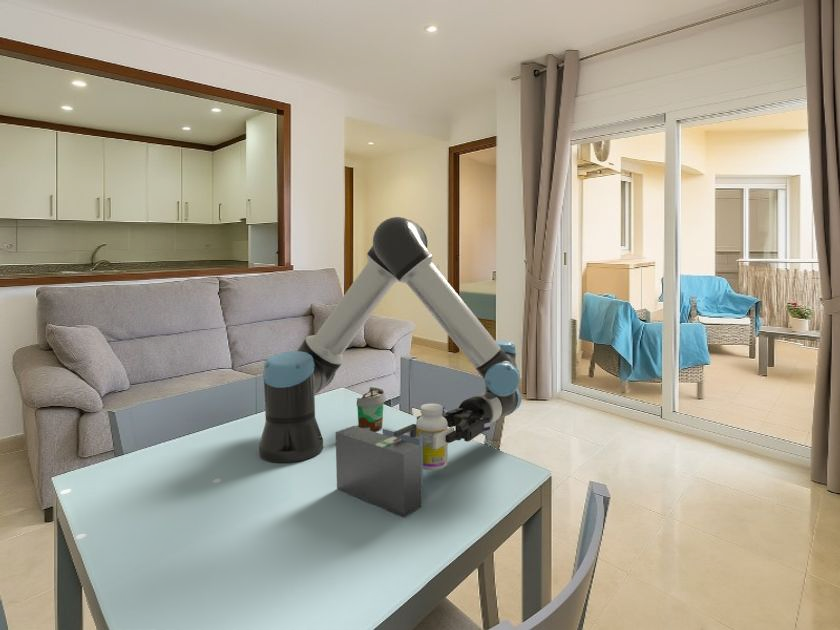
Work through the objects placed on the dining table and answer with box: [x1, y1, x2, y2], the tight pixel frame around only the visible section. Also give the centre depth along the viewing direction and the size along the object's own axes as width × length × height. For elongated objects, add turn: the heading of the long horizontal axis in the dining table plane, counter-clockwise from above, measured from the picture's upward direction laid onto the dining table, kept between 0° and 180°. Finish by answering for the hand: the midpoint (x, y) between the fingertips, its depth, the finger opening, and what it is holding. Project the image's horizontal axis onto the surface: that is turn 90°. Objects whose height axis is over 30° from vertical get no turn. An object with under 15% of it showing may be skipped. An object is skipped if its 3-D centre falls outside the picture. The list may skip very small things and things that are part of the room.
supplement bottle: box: [415, 403, 449, 471], centre depth 106 cm, size 7×7×13 cm
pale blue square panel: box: [382, 423, 424, 487], centre depth 102 cm, size 10×6×12 cm, turn 52°
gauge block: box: [335, 425, 422, 518], centre depth 98 cm, size 18×5×12 cm, turn 52°
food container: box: [356, 386, 387, 433], centre depth 138 cm, size 12×6×10 cm, turn 168°
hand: (420, 438), depth 103 cm, fingers closed on supplement bottle, 7 cm apart
